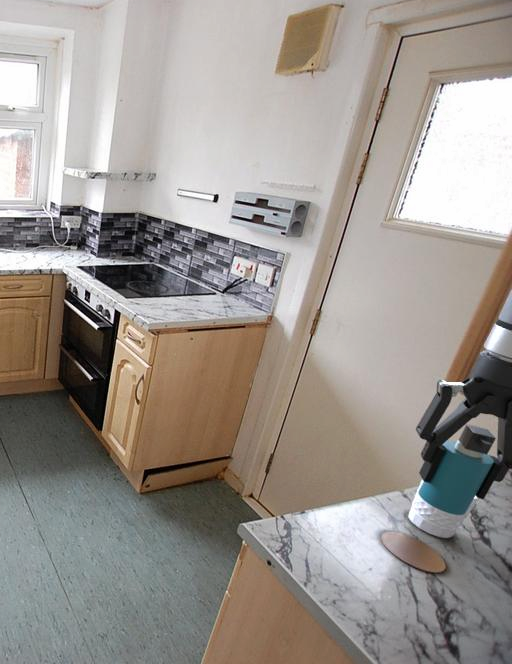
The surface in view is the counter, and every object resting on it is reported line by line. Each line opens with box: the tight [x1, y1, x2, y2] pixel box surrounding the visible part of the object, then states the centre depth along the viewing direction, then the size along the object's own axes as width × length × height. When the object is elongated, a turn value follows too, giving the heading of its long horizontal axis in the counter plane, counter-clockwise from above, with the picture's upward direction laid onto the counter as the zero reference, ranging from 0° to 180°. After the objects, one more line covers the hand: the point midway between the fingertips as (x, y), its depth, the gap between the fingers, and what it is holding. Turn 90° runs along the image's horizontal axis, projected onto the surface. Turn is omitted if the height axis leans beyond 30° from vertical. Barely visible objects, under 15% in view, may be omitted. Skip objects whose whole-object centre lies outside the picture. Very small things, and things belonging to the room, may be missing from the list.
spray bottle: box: [418, 423, 497, 515], centre depth 73 cm, size 7×6×14 cm
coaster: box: [381, 531, 447, 574], centre depth 83 cm, size 9×9×1 cm
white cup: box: [407, 478, 480, 539], centre depth 88 cm, size 8×8×10 cm
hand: (450, 485), depth 75 cm, fingers closed on spray bottle, 6 cm apart
